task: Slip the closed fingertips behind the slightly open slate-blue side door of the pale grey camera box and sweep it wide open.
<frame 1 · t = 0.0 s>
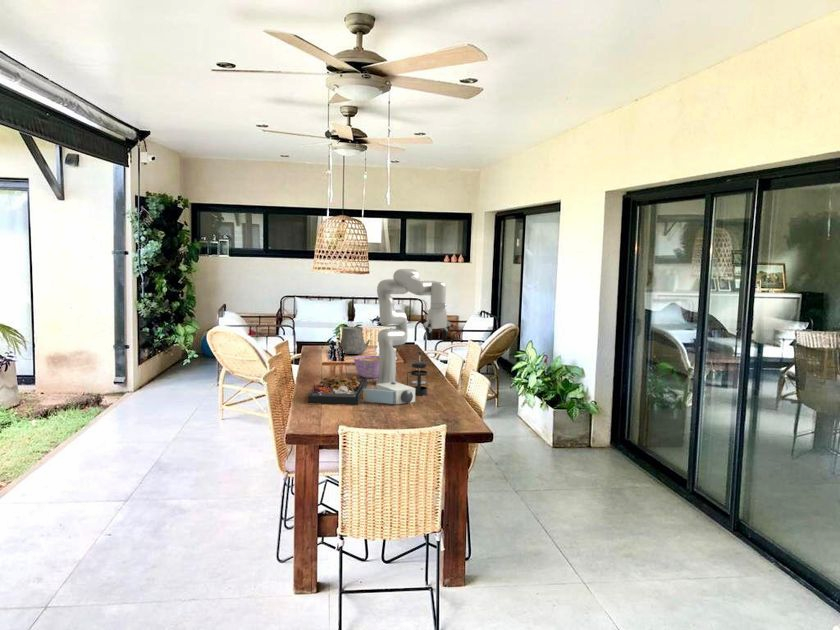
hand: (436, 339, 323), 31 cm above the table, tool pointing down, fingers open, 9 cm apart
food platter: (339, 395, 333), on the table
french press: (417, 394, 338), on the table
side door: (379, 396, 313), point 4 cm above the table, hinge at 35.0°
vessel: (351, 354, 463), on the table
camera body: (395, 399, 324), on the table
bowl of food: (370, 377, 380), on the table
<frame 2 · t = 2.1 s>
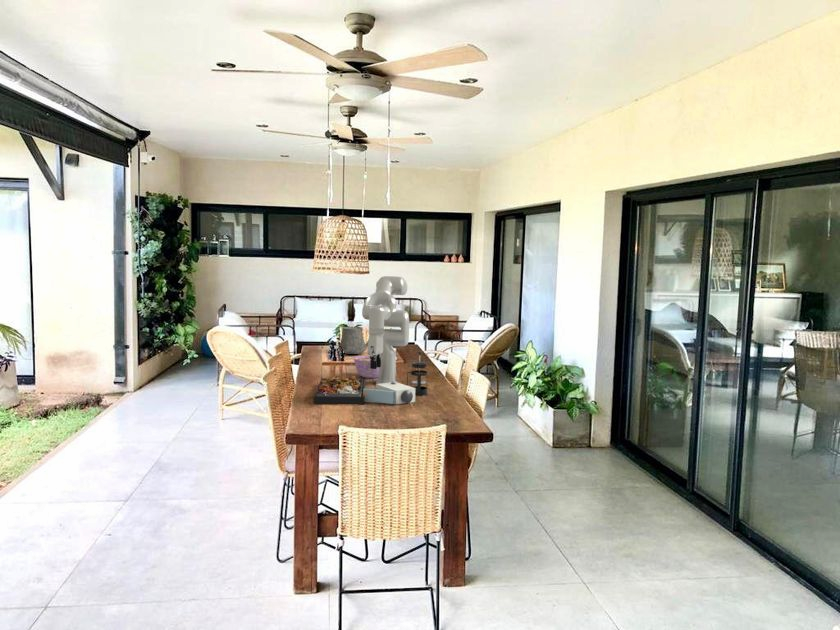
hand: (375, 367, 317), 17 cm above the table, tool pointing down, fingers open, 4 cm apart
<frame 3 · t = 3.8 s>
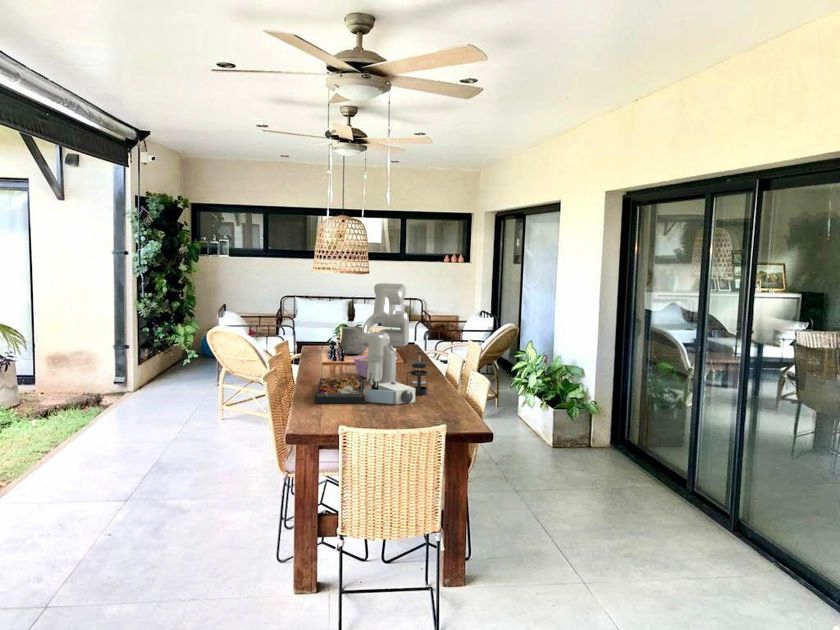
hand: (374, 394, 317), 4 cm above the table, tool pointing down, fingers closed
side door: (379, 396, 313), point 4 cm above the table, hinge at 36.9°, touching gripper
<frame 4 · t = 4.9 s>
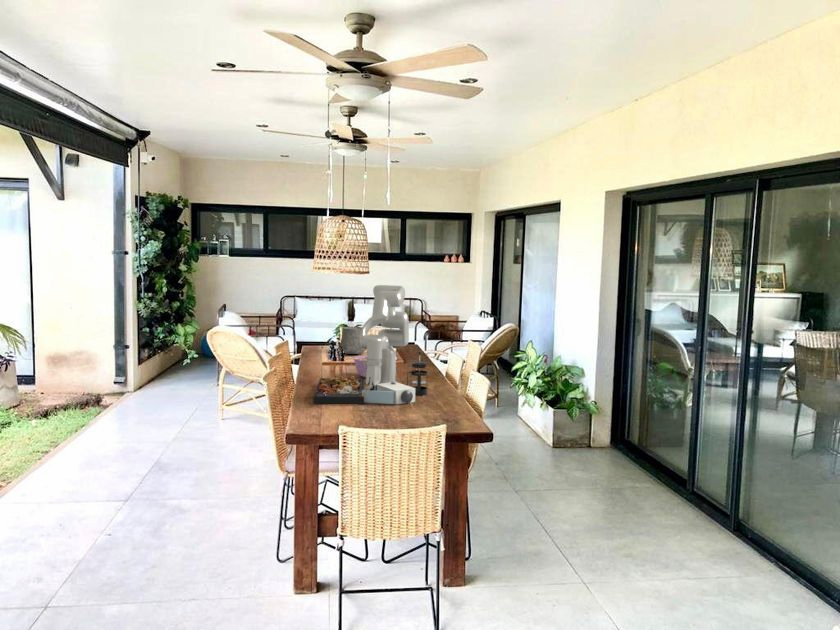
hand: (373, 398, 316), 2 cm above the table, tool pointing down, fingers closed
side door: (378, 397, 312), point 4 cm above the table, hinge at 45.3°, touching gripper
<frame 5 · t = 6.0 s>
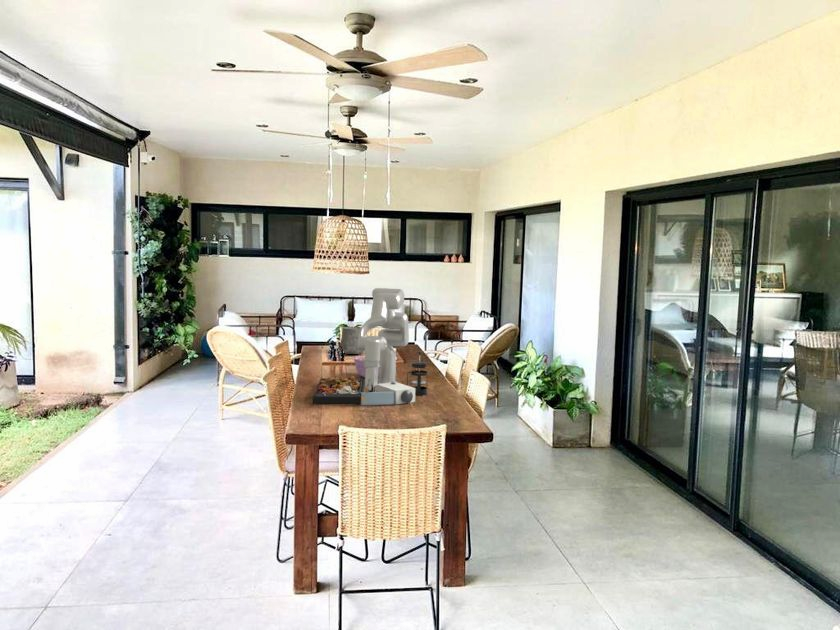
hand: (371, 400, 312), 2 cm above the table, tool pointing down, fingers closed
side door: (378, 398, 309), point 4 cm above the table, hinge at 65.2°, touching gripper
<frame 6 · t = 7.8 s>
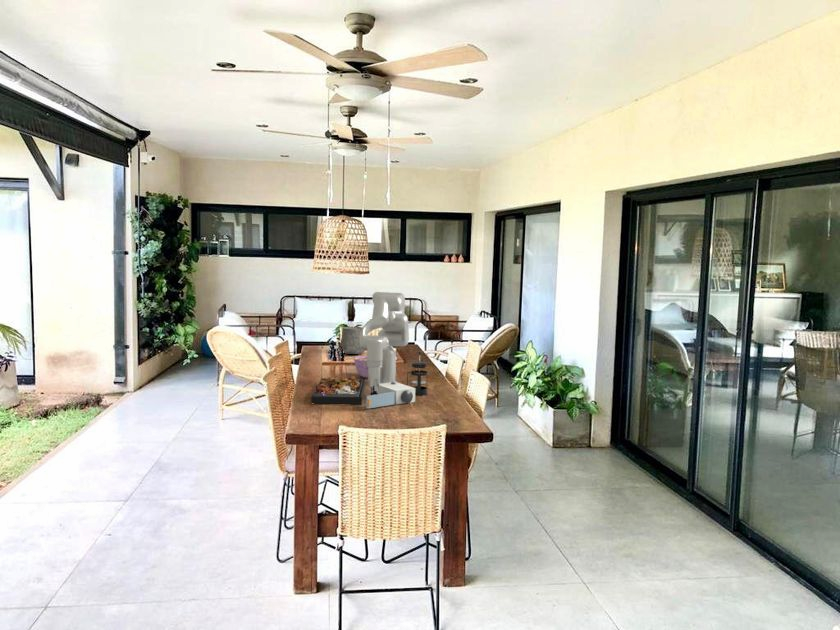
hand: (374, 400, 307), 3 cm above the table, tool pointing down, fingers closed
side door: (382, 400, 306), point 4 cm above the table, hinge at 92.8°
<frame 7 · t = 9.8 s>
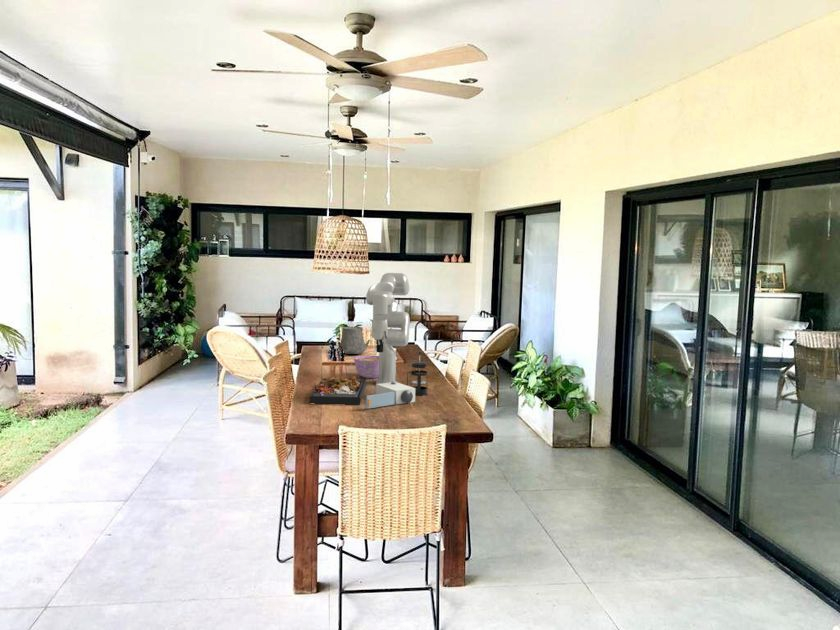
hand: (379, 352, 327), 24 cm above the table, tool pointing down, fingers closed
nothing on the table moved.
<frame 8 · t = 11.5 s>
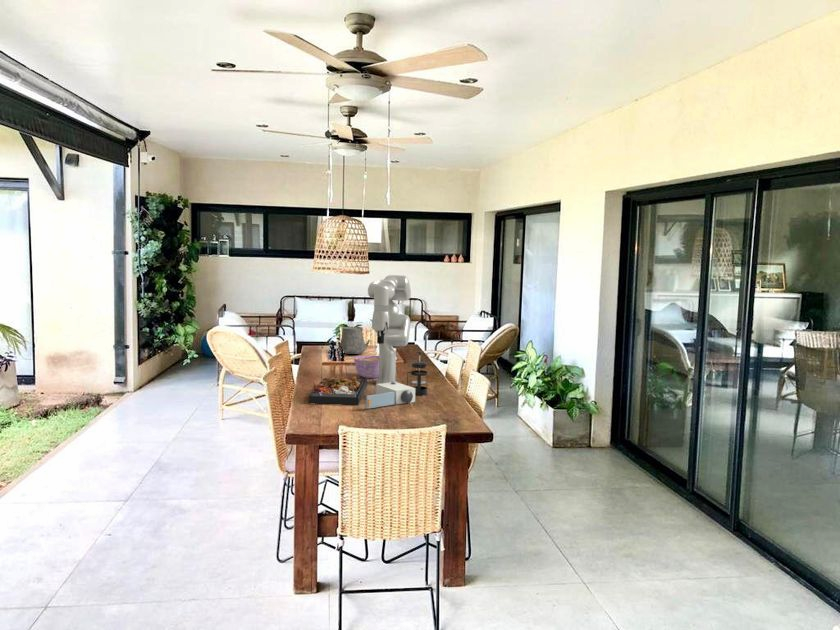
hand: (380, 343, 333), 27 cm above the table, tool pointing down, fingers closed
nothing on the table moved.
at the end: side door at +93° (first picture: +35°) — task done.
